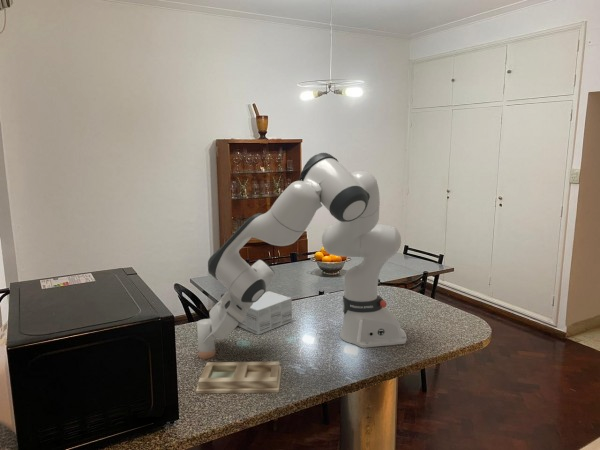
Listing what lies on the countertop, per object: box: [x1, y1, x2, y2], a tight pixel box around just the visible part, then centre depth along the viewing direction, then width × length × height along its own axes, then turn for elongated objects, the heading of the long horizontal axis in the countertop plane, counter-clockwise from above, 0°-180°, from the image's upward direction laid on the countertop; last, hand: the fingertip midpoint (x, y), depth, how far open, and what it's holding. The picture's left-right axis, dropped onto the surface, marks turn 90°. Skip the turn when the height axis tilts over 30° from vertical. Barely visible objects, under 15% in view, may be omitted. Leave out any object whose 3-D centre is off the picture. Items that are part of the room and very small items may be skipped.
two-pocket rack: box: [195, 361, 282, 394], centre depth 123 cm, size 22×13×3 cm, turn 89°
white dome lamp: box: [196, 318, 216, 360], centre depth 138 cm, size 5×5×11 cm
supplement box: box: [237, 290, 293, 336], centre depth 163 cm, size 17×13×9 cm
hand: (204, 337), depth 138 cm, fingers open, 8 cm apart
